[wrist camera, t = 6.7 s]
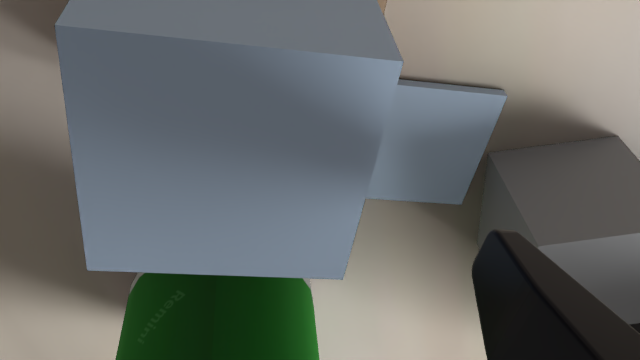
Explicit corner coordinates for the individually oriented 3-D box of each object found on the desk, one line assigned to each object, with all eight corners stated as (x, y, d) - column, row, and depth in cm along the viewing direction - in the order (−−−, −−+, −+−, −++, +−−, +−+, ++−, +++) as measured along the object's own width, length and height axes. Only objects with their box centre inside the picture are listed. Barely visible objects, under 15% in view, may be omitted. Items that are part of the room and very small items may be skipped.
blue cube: (356, -47, 13) (404, 61, 9) (320, 138, 16) (342, 279, 12) (118, -80, 12) (54, 25, 8) (129, 124, 15) (87, 270, 11)
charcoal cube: (616, 134, 22) (694, 225, 18) (589, 227, 25) (650, 321, 21) (487, 151, 22) (538, 246, 18) (476, 242, 25) (517, 339, 21)
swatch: (503, 90, 20) (507, 96, 20) (458, 198, 23) (461, 204, 23) (364, 75, 19) (366, 81, 19) (336, 189, 22) (338, 196, 22)
